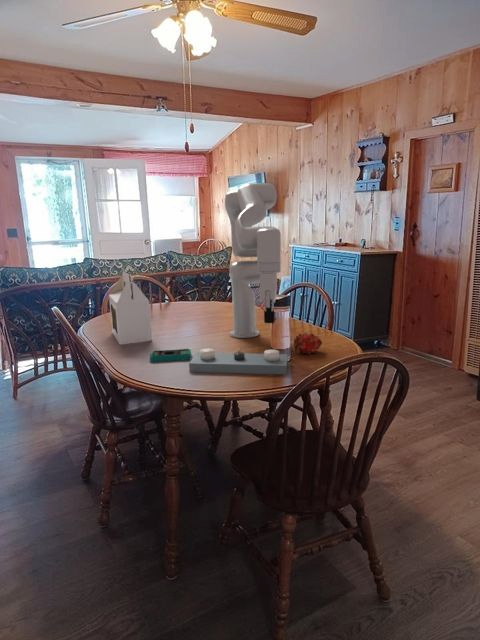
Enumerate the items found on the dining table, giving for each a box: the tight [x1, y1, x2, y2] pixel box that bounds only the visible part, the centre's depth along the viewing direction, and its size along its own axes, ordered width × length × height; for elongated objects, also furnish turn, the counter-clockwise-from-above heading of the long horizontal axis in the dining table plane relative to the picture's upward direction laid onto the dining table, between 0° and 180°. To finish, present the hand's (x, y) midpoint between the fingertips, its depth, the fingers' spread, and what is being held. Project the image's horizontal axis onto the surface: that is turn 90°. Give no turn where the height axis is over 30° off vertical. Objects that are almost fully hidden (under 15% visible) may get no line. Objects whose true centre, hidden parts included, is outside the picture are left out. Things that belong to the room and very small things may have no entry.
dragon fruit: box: [293, 332, 323, 355], centre depth 167 cm, size 8×8×12 cm
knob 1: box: [199, 347, 216, 360], centre depth 155 cm, size 5×5×6 cm
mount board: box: [188, 352, 289, 375], centre depth 154 cm, size 12×32×3 cm, turn 82°
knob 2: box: [263, 349, 280, 361], centre depth 152 cm, size 5×5×6 cm
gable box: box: [108, 270, 153, 346], centre depth 193 cm, size 22×13×28 cm, turn 23°
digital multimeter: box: [149, 348, 192, 363], centre depth 166 cm, size 7×15×3 cm, turn 96°
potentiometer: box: [233, 348, 245, 360], centre depth 153 cm, size 4×4×3 cm
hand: (269, 322), depth 150 cm, fingers closed
